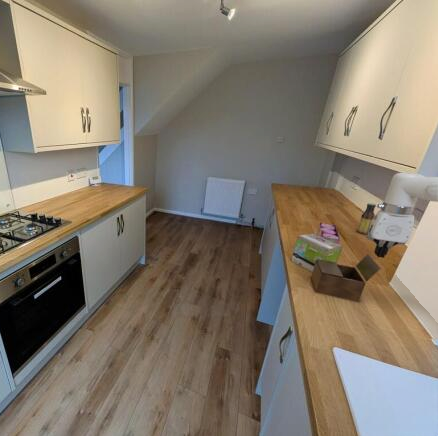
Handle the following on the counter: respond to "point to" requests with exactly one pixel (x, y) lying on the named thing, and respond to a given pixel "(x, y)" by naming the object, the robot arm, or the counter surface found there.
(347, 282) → the carton
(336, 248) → the tea box
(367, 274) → the flap
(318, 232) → the gum box
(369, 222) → the sauce bottle
